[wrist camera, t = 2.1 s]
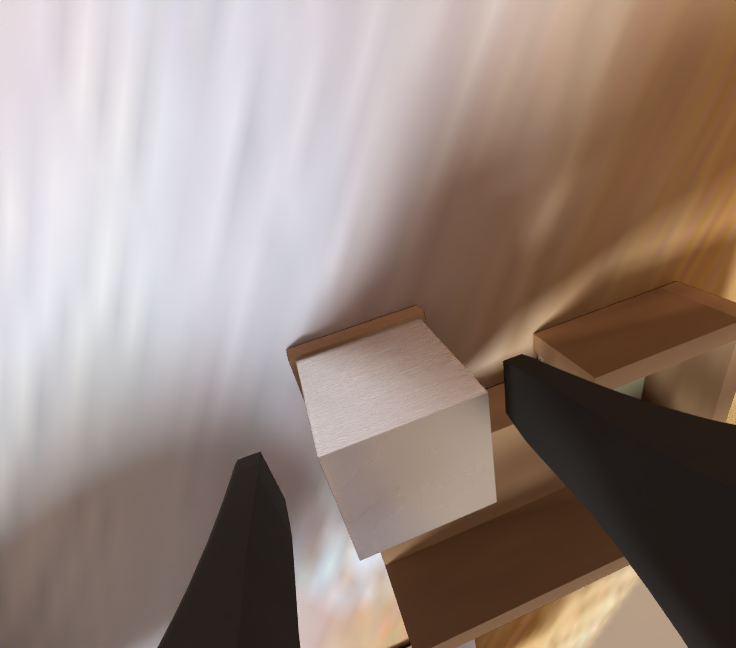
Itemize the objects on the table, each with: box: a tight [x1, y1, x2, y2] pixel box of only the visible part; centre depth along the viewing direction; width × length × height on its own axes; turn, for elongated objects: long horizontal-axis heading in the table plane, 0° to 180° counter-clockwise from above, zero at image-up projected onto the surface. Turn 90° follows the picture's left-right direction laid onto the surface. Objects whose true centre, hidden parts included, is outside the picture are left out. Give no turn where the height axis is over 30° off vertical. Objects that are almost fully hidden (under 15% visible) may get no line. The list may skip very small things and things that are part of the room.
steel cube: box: [296, 318, 497, 561], centre depth 11 cm, size 4×4×4 cm
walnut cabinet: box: [286, 281, 736, 648], centre depth 14 cm, size 10×15×5 cm
